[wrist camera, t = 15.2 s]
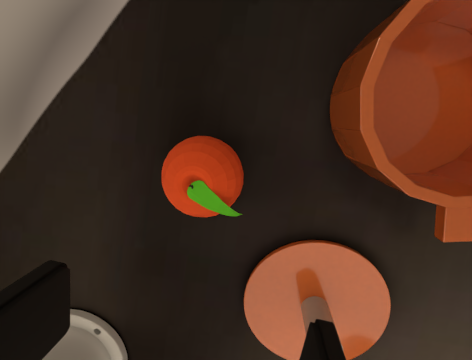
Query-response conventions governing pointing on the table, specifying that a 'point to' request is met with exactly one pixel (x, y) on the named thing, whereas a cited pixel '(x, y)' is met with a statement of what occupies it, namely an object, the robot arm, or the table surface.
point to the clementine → (202, 177)
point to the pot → (413, 108)
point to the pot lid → (316, 297)
